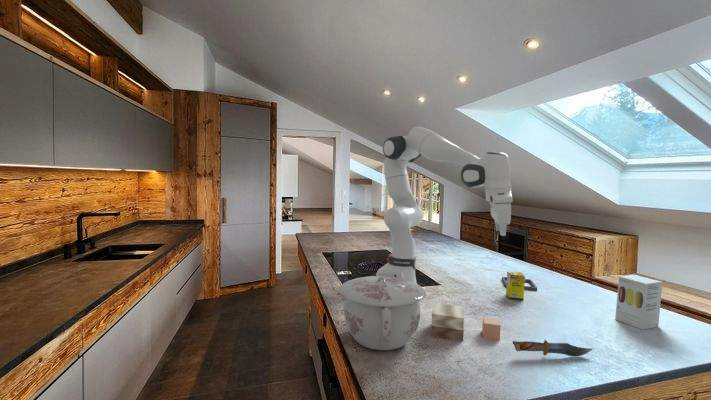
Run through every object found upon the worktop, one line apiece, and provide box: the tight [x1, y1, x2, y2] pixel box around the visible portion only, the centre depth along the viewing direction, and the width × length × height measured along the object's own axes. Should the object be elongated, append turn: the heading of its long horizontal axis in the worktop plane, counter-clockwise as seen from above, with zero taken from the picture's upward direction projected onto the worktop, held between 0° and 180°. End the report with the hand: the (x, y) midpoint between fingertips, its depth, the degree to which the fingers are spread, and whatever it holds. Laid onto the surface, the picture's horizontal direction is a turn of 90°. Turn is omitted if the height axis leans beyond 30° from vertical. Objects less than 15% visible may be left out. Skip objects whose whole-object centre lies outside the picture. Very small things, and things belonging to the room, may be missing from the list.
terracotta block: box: [481, 316, 501, 341], centre depth 111 cm, size 5×5×5 cm
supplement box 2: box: [614, 274, 663, 331], centre depth 122 cm, size 10×9×17 cm
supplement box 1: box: [505, 270, 526, 301], centre depth 146 cm, size 6×6×11 cm
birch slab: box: [431, 302, 465, 330], centre depth 112 cm, size 10×10×4 cm
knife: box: [511, 339, 593, 357], centre depth 98 cm, size 25×1×5 cm, turn 92°
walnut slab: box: [431, 326, 465, 342], centre depth 112 cm, size 10×10×4 cm
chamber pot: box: [339, 275, 427, 351], centre depth 106 cm, size 28×28×21 cm
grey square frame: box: [501, 276, 538, 291], centre depth 164 cm, size 14×14×2 cm
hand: (500, 232), depth 122 cm, fingers open, 8 cm apart
